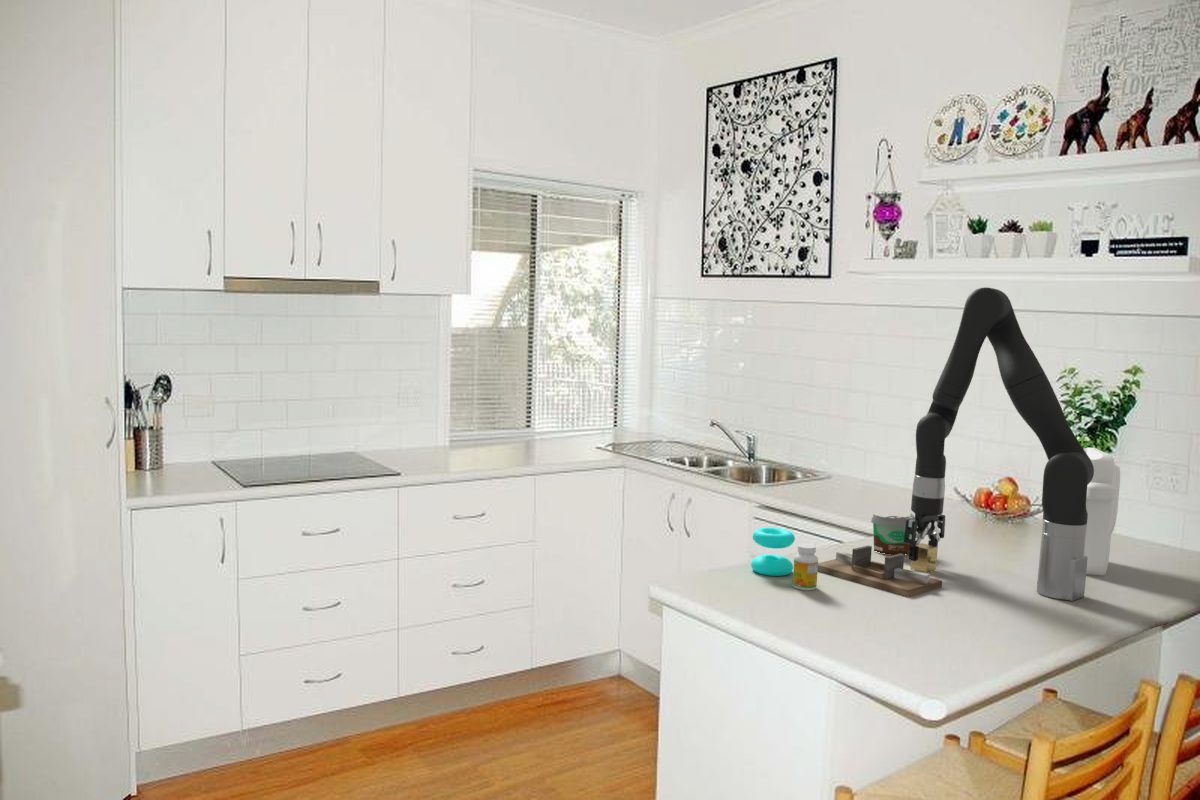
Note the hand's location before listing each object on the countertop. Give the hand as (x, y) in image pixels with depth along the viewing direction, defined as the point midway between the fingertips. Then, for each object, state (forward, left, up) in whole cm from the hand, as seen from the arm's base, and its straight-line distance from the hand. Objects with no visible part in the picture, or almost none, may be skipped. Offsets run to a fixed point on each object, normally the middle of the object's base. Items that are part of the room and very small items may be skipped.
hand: (922, 557), depth 248 cm
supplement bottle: (+7, +38, -3) cm, 39 cm away
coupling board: (+2, +17, -3) cm, 17 cm away
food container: (+13, -8, -3) cm, 15 cm away
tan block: (0, 0, -3) cm, 3 cm away
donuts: (+20, +34, -3) cm, 39 cm away
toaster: (-22, -41, -3) cm, 47 cm away
